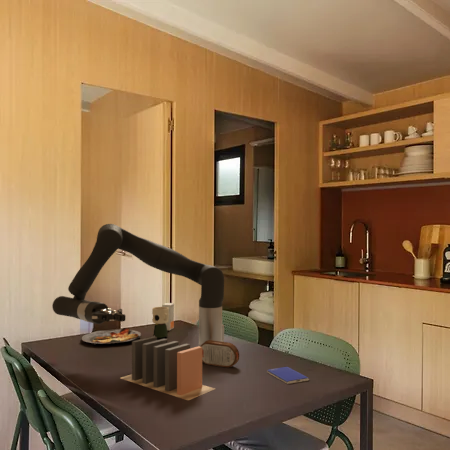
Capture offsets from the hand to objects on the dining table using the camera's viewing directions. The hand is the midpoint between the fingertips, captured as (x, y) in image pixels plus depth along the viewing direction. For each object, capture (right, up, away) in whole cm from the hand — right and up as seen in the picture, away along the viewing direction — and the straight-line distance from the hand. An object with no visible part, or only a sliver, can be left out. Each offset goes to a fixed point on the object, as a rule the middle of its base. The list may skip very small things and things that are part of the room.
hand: (123, 318), depth 157 cm
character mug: (+5, -18, +50) cm, 53 cm away
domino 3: (+16, -17, -13) cm, 27 cm away
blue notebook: (+54, -19, -3) cm, 58 cm away
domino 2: (+12, -17, -9) cm, 23 cm away
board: (+16, -18, -13) cm, 27 cm away
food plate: (-15, -19, +45) cm, 51 cm away
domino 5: (+24, -17, -19) cm, 35 cm away
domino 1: (+8, -17, -6) cm, 20 cm away
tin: (+31, -19, +9) cm, 38 cm away
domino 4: (+20, -17, -16) cm, 31 cm away
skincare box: (+7, -19, +67) cm, 69 cm away
